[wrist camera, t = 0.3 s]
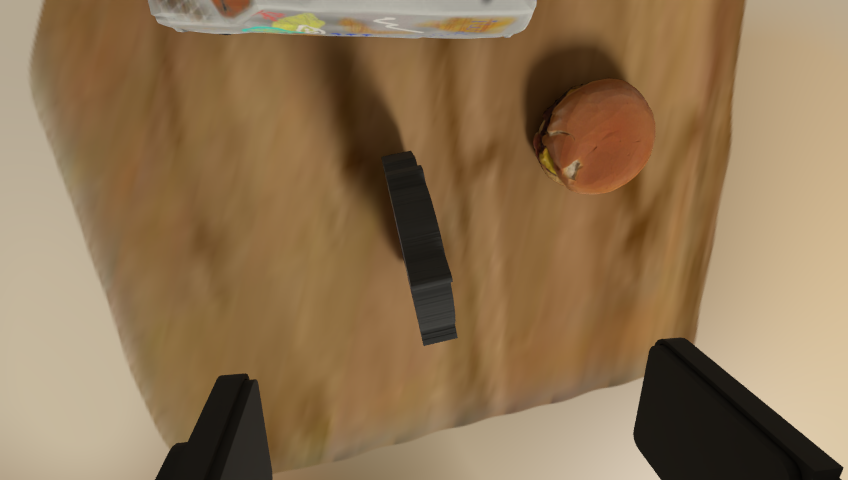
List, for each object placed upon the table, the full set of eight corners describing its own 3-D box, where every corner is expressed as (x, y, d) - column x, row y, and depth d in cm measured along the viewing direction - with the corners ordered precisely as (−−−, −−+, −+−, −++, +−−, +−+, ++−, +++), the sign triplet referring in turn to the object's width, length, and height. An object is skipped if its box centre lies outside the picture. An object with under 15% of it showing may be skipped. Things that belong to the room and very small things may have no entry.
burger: (656, 118, 40) (691, 123, 36) (593, 205, 43) (619, 221, 38) (572, 55, 38) (600, 53, 33) (509, 152, 40) (527, 162, 36)
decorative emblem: (380, 152, 38) (391, 198, 24) (408, 146, 38) (436, 189, 24) (407, 276, 42) (430, 376, 29) (432, 270, 43) (468, 367, 29)
